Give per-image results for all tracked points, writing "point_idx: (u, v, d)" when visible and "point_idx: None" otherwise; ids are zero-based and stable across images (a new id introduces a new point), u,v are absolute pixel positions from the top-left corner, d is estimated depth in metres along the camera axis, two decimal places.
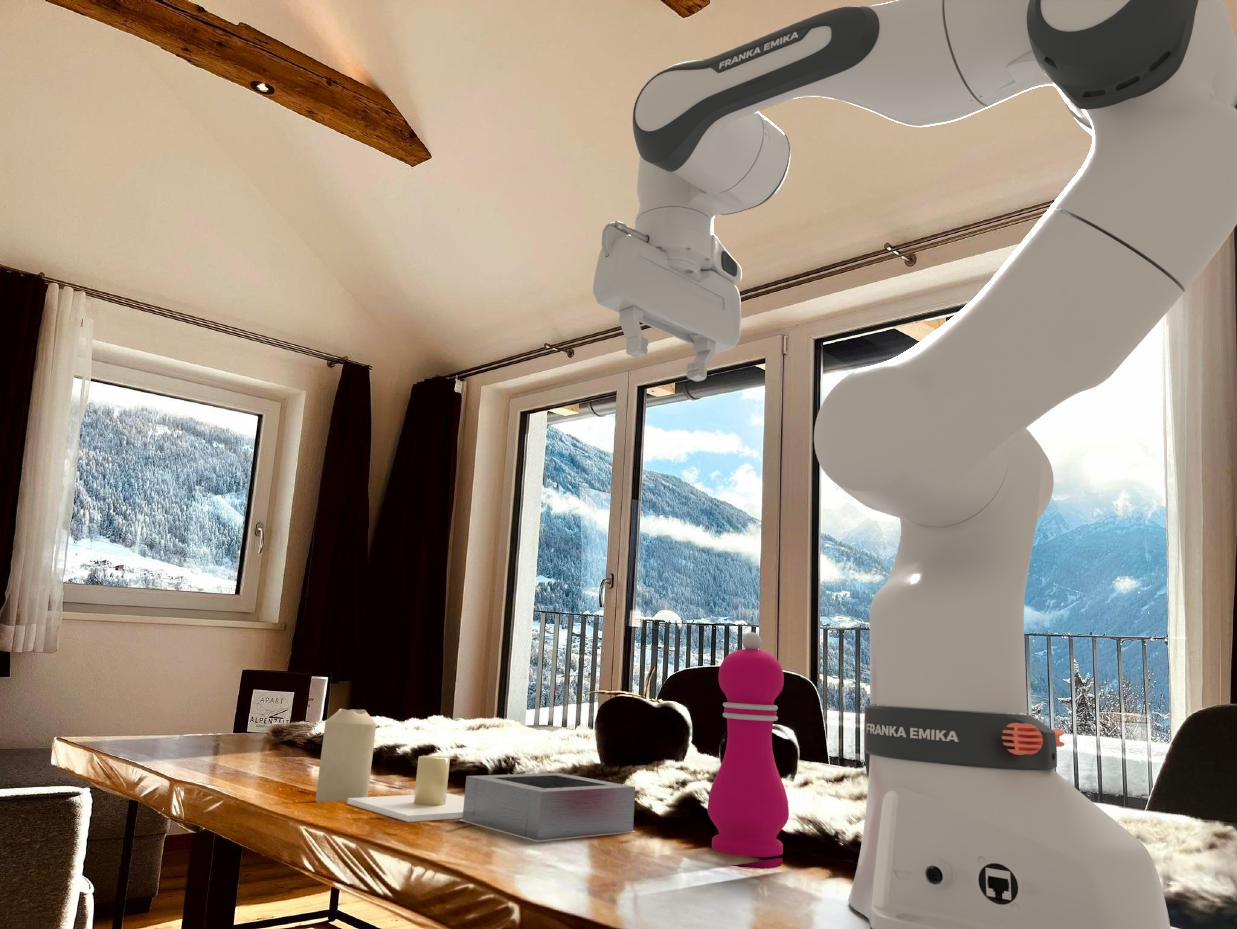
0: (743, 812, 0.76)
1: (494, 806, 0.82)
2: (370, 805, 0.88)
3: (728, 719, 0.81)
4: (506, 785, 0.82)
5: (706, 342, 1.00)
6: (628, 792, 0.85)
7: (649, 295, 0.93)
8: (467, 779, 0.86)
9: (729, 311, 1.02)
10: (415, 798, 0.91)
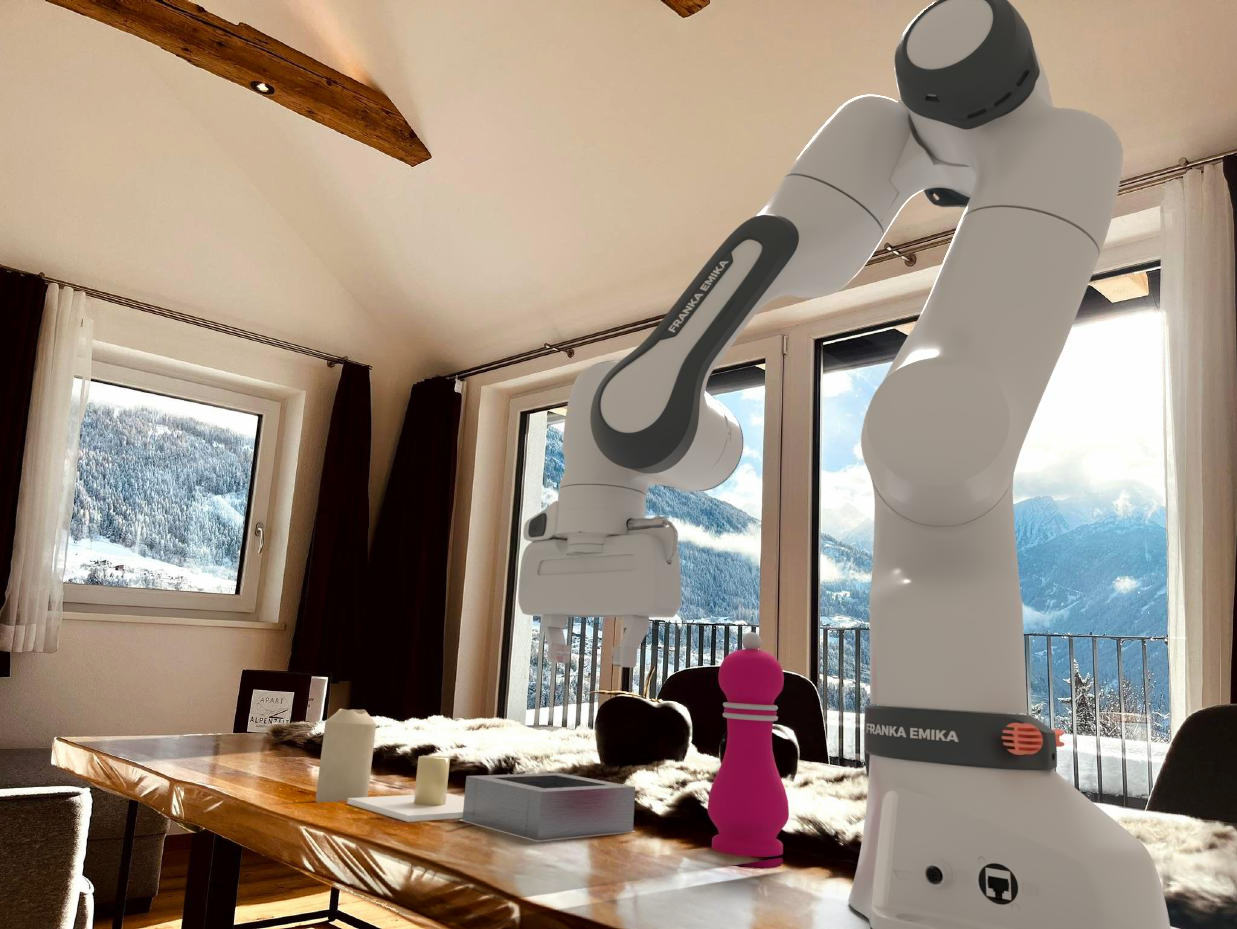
0: (743, 812, 0.76)
1: (494, 806, 0.82)
2: (370, 805, 0.88)
3: (728, 719, 0.81)
4: (506, 785, 0.82)
5: (566, 620, 0.91)
6: (628, 792, 0.85)
7: None
8: (467, 779, 0.86)
9: None
10: (415, 798, 0.91)
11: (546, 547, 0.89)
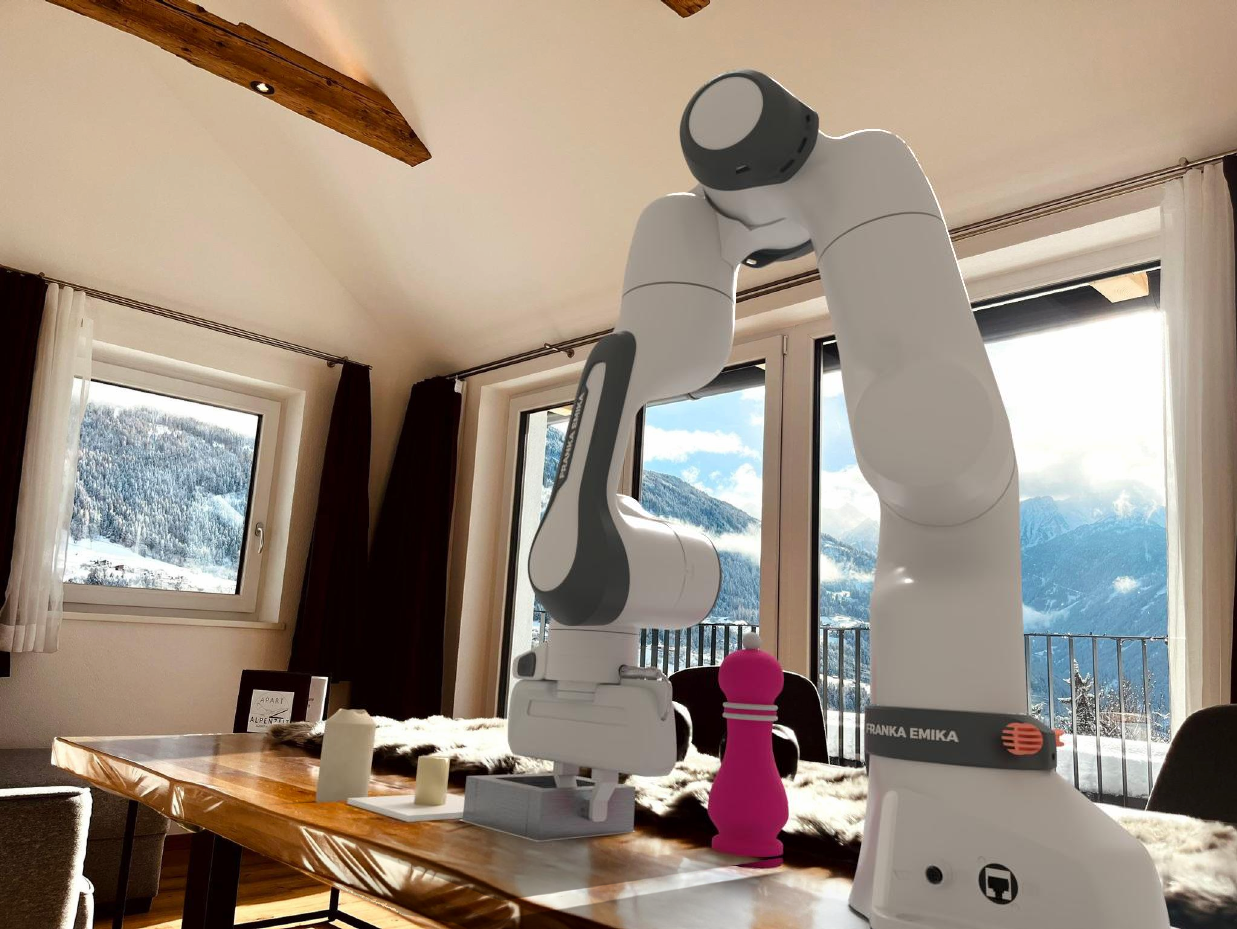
0: (743, 812, 0.76)
1: (495, 806, 0.82)
2: (370, 805, 0.88)
3: (728, 719, 0.81)
4: (506, 785, 0.82)
5: (578, 766, 0.85)
6: (628, 792, 0.85)
7: None
8: (467, 779, 0.86)
9: None
10: (415, 798, 0.91)
11: (536, 689, 0.86)
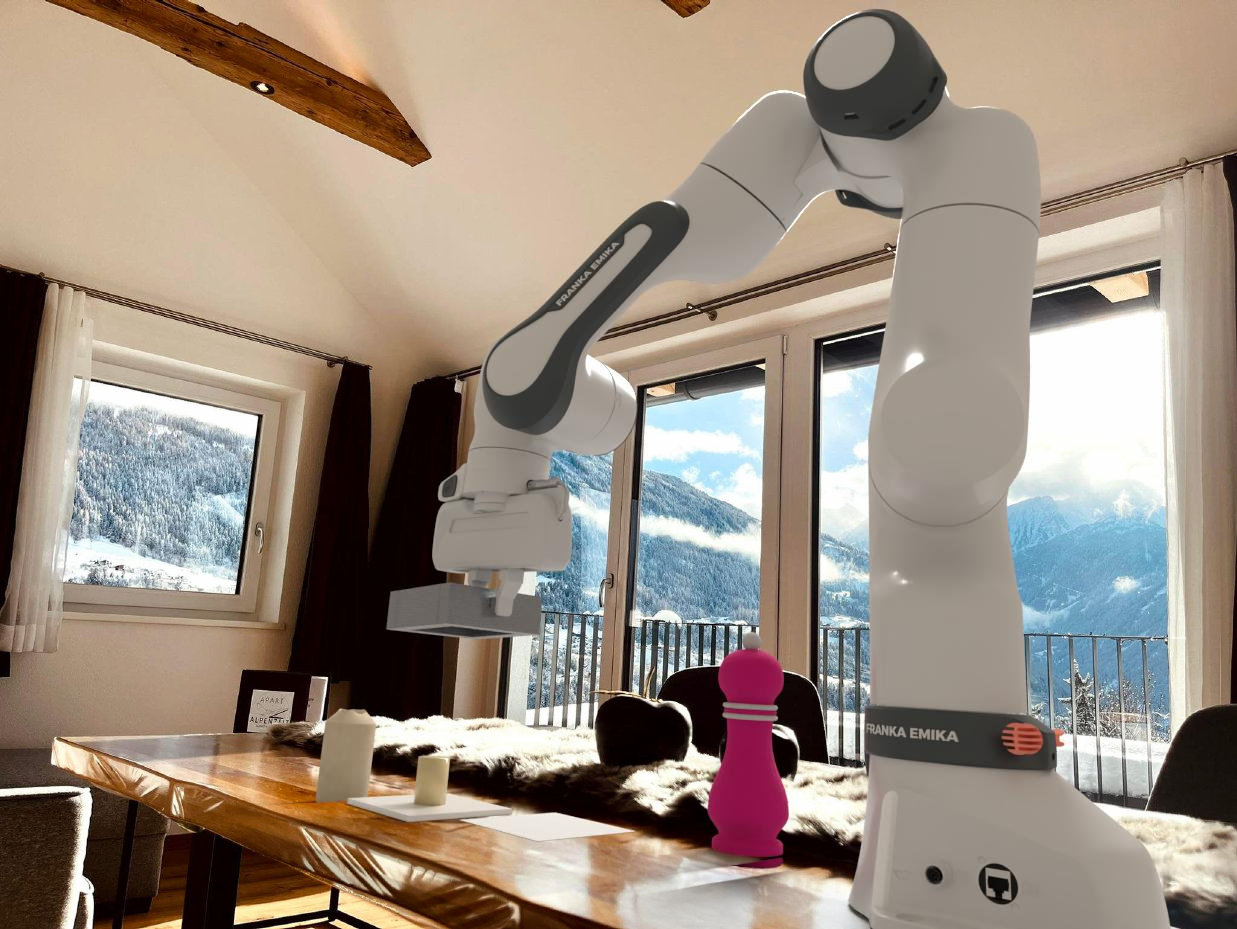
0: (743, 812, 0.77)
1: (413, 608, 0.92)
2: (370, 805, 0.88)
3: (728, 719, 0.81)
4: (422, 587, 0.91)
5: (491, 575, 0.95)
6: (535, 600, 0.95)
7: None
8: (391, 594, 0.96)
9: None
10: (415, 798, 0.91)
11: (456, 506, 0.96)
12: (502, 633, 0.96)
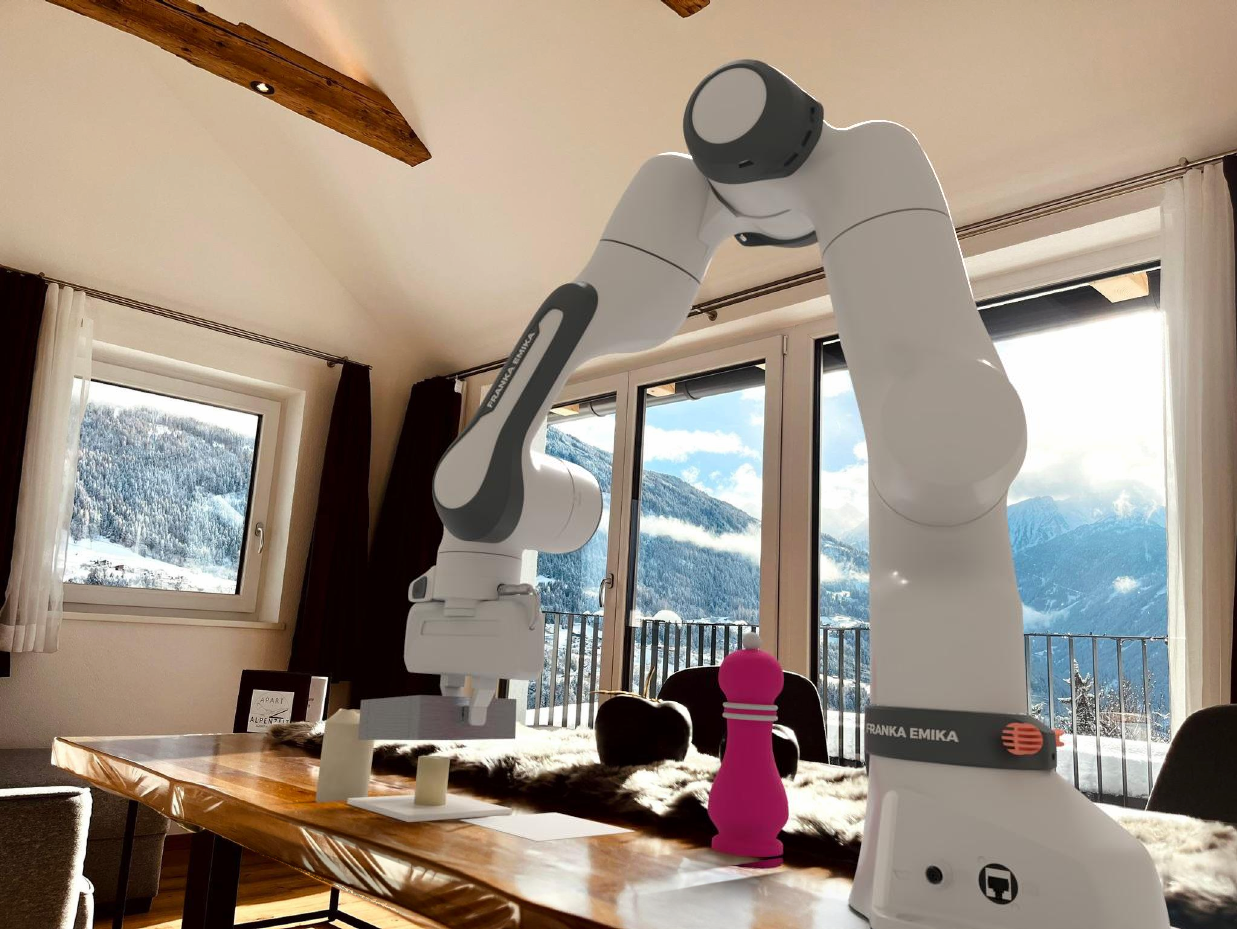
0: (743, 812, 0.76)
1: (383, 719, 0.90)
2: (370, 805, 0.88)
3: (728, 719, 0.81)
4: (393, 698, 0.89)
5: (463, 679, 0.93)
6: (509, 703, 0.93)
7: None
8: (361, 702, 0.94)
9: None
10: (415, 798, 0.91)
11: (427, 609, 0.94)
12: None
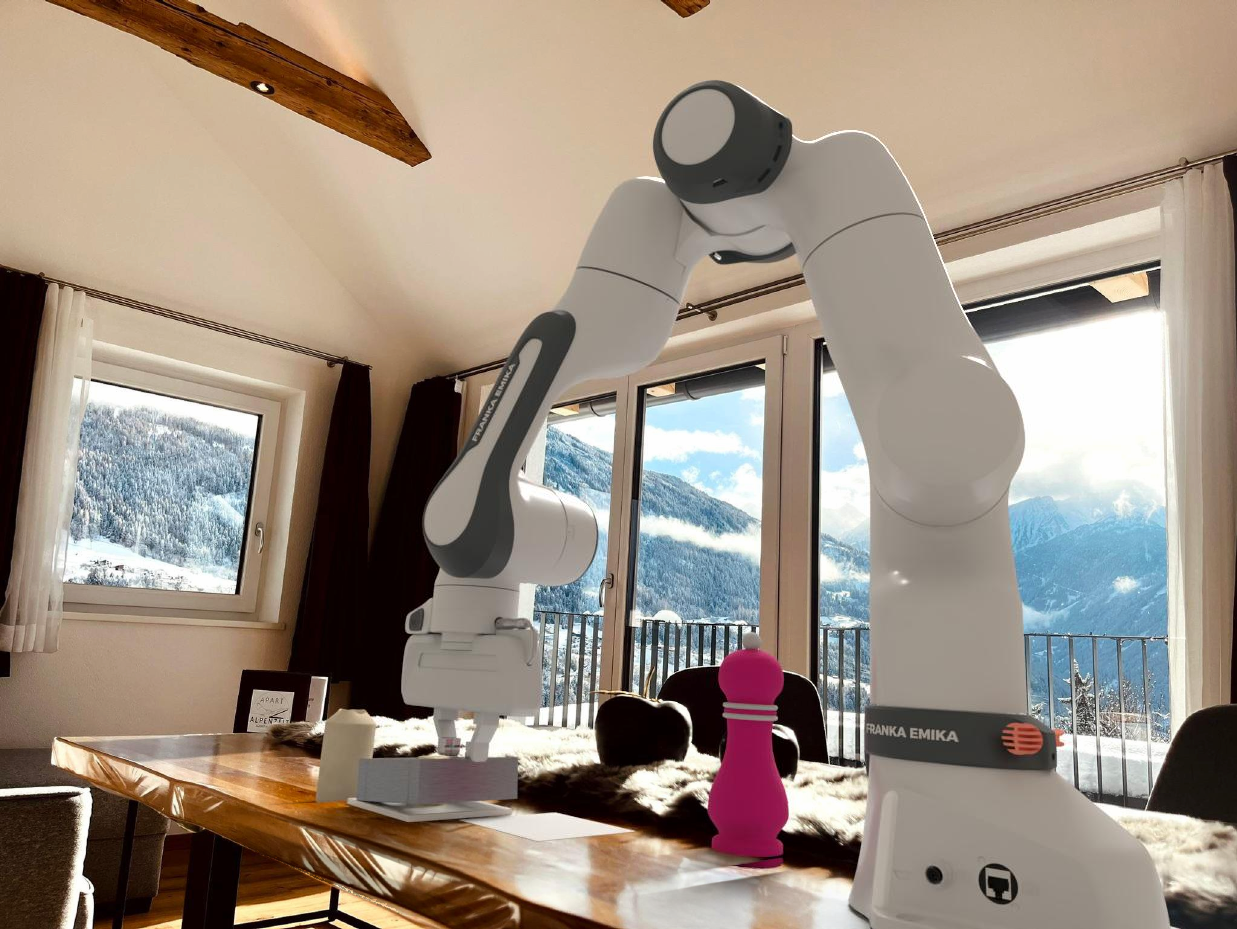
0: (743, 812, 0.76)
1: (382, 781, 0.88)
2: (370, 805, 0.88)
3: (728, 719, 0.81)
4: (391, 759, 0.87)
5: (457, 712, 0.93)
6: (511, 762, 0.91)
7: None
8: (360, 761, 0.92)
9: None
10: None
11: (424, 642, 0.93)
12: None
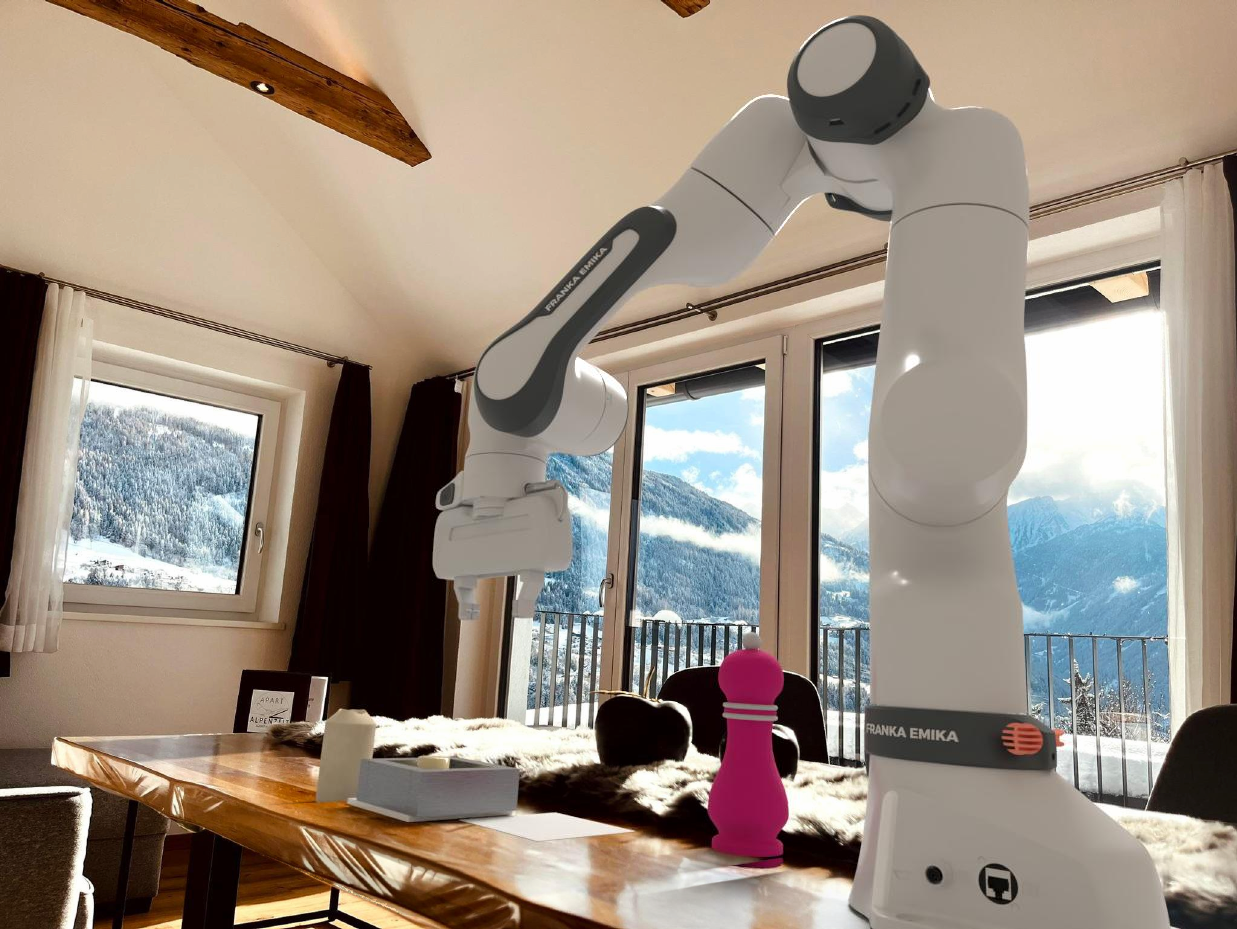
0: (743, 812, 0.76)
1: (383, 786, 0.87)
2: (370, 805, 0.88)
3: (728, 719, 0.81)
4: (393, 766, 0.87)
5: (476, 581, 0.98)
6: (512, 774, 0.90)
7: None
8: (361, 762, 0.91)
9: None
10: None
11: (455, 514, 0.97)
12: None
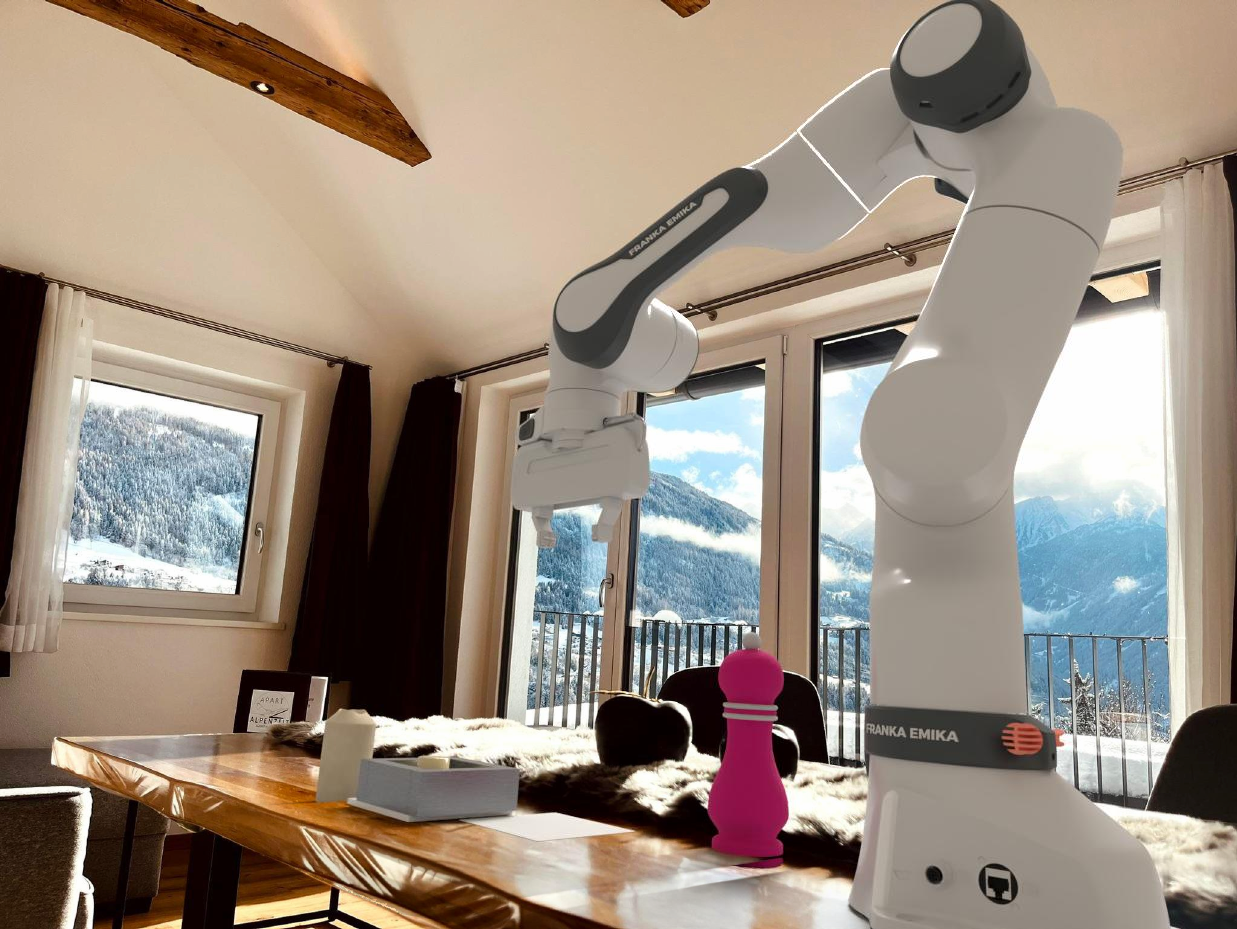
0: (743, 812, 0.76)
1: (383, 786, 0.87)
2: (370, 805, 0.88)
3: (728, 719, 0.81)
4: (393, 766, 0.87)
5: (552, 512, 1.04)
6: (512, 774, 0.90)
7: None
8: (361, 762, 0.91)
9: None
10: None
11: (534, 447, 1.03)
12: None
